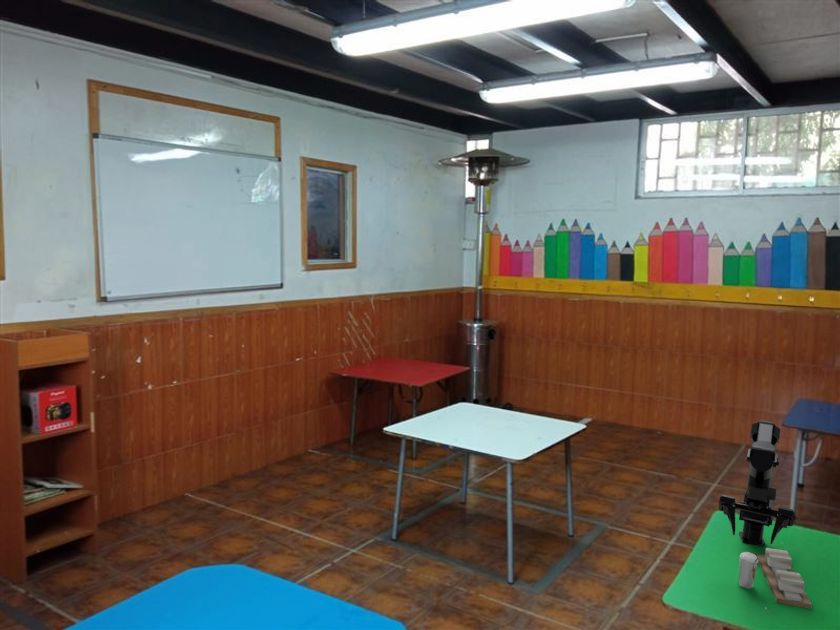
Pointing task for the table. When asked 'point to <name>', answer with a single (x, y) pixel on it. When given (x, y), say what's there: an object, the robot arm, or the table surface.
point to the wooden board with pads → (783, 578)
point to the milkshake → (747, 569)
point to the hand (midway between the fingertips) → (752, 539)
